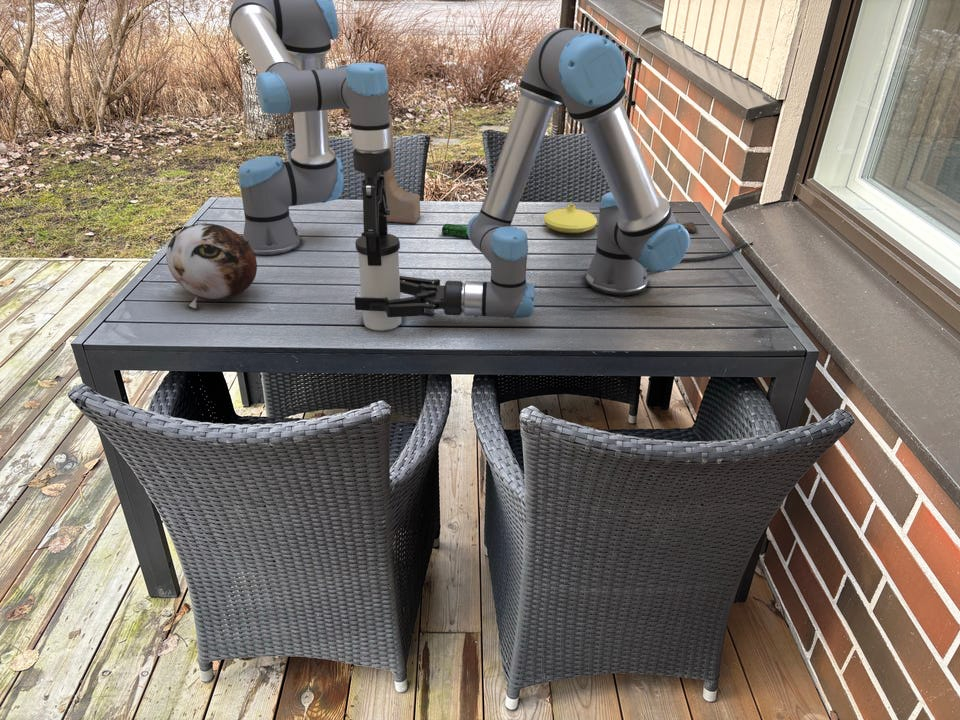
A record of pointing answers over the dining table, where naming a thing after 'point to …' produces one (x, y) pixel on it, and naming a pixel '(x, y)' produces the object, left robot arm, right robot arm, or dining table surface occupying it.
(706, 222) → the dining table surface
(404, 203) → the decorative block
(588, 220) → the yellow knobbed pot cover
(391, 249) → the lid
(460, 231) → the handgun
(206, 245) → the cat face balloon
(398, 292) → the jar
